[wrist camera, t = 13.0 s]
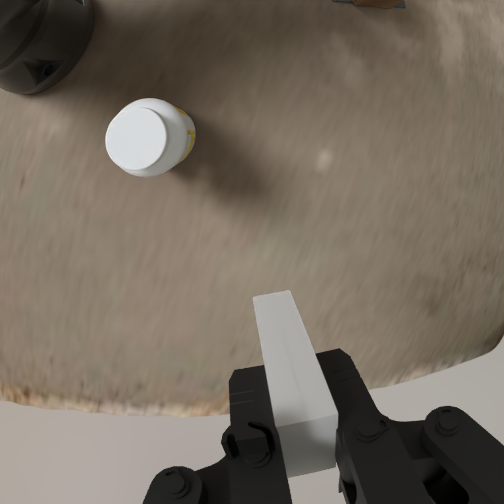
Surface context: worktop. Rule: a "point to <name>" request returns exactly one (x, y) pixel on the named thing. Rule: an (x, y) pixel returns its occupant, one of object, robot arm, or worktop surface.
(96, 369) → the worktop surface
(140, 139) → the supplement bottle
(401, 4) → the mat
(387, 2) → the walnut block
